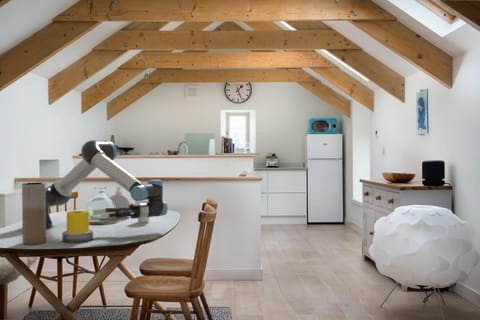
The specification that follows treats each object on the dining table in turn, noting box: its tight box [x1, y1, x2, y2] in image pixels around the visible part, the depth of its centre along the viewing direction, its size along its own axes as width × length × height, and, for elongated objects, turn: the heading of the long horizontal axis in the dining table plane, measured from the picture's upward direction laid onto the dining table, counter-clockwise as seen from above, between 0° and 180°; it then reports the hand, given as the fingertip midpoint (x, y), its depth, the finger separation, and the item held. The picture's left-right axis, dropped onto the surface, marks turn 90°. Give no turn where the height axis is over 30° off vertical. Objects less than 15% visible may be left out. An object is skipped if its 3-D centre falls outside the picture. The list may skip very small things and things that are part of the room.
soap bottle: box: [109, 185, 133, 219], centre depth 288 cm, size 16×5×20 cm, turn 89°
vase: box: [21, 182, 47, 246], centre depth 212 cm, size 10×10×28 cm
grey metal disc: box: [61, 229, 94, 244], centre depth 218 cm, size 14×14×4 cm
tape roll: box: [66, 210, 90, 234], centre depth 218 cm, size 10×10×9 cm
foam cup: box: [134, 199, 150, 224], centre depth 271 cm, size 10×9×13 cm
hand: (97, 214), depth 223 cm, fingers open, 13 cm apart
